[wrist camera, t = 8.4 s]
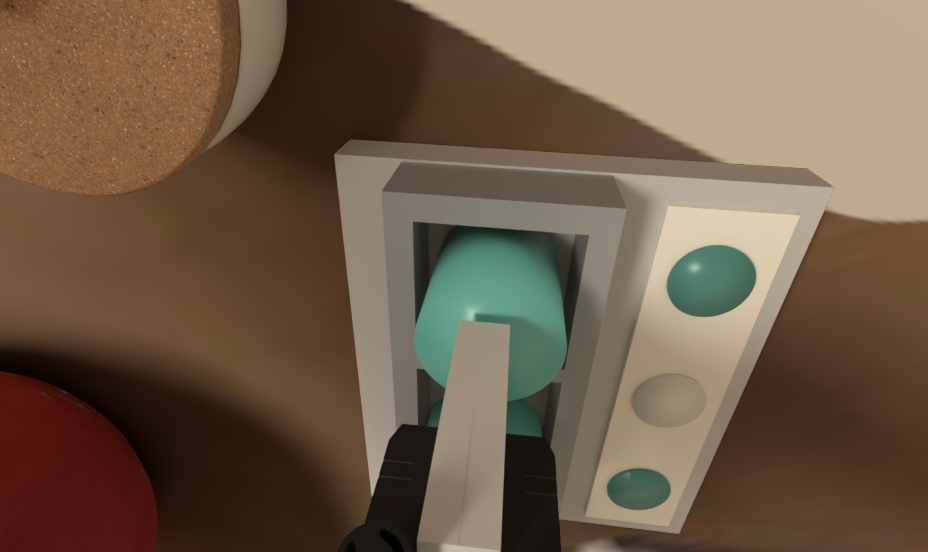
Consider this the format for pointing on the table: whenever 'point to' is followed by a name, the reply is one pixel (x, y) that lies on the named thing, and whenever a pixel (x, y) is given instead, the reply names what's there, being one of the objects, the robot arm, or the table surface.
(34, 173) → the lidded jar
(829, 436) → the table surface
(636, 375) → the button panel
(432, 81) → the table surface
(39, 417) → the mixing bowl
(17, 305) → the table surface
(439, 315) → the button
